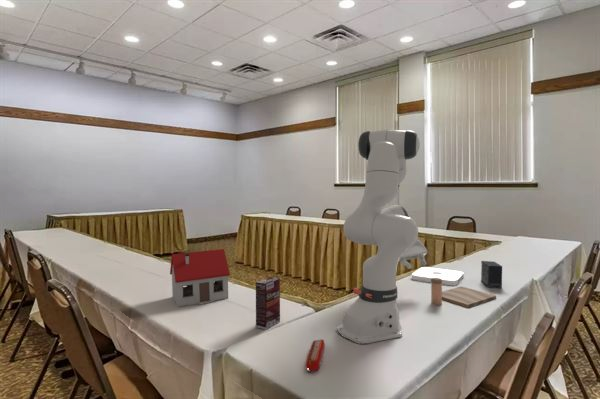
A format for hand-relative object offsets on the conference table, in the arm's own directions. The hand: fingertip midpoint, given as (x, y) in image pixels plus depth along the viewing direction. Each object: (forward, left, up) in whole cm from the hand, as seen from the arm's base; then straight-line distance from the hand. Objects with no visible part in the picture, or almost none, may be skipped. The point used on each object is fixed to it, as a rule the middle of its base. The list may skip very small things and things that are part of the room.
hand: (417, 266), depth 146 cm
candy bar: (-66, -19, -14) cm, 70 cm away
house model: (-79, +53, -14) cm, 96 cm away
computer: (+34, +15, -14) cm, 40 cm away
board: (+16, -11, -14) cm, 24 cm away
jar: (0, -9, -14) cm, 16 cm away
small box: (+44, -7, -14) cm, 47 cm away
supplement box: (-67, +10, -14) cm, 69 cm away
